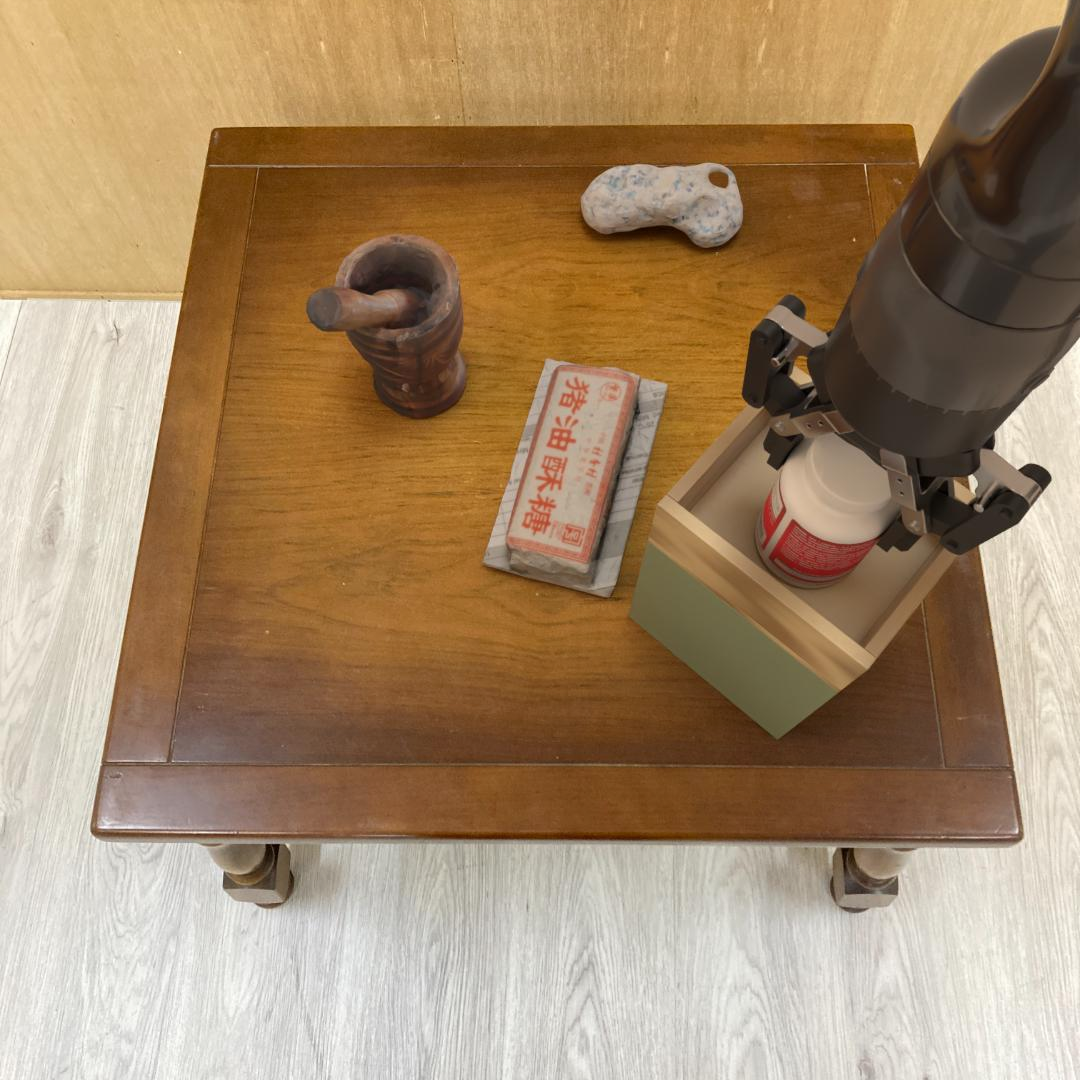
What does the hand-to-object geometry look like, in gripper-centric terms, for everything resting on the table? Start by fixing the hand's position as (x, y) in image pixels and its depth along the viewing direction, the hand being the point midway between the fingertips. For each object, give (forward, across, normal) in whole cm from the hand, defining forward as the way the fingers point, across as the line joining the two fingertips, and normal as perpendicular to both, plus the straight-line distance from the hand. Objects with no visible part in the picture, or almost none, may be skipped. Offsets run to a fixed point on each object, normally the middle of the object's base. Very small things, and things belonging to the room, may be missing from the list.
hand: (836, 494), depth 52 cm
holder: (+7, 0, 0) cm, 7 cm away
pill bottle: (+7, 0, 0) cm, 7 cm away
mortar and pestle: (+23, +31, +3) cm, 39 cm away
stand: (+23, 0, 0) cm, 23 cm away
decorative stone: (+23, +27, -22) cm, 42 cm away
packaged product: (+23, +17, 0) cm, 29 cm away
